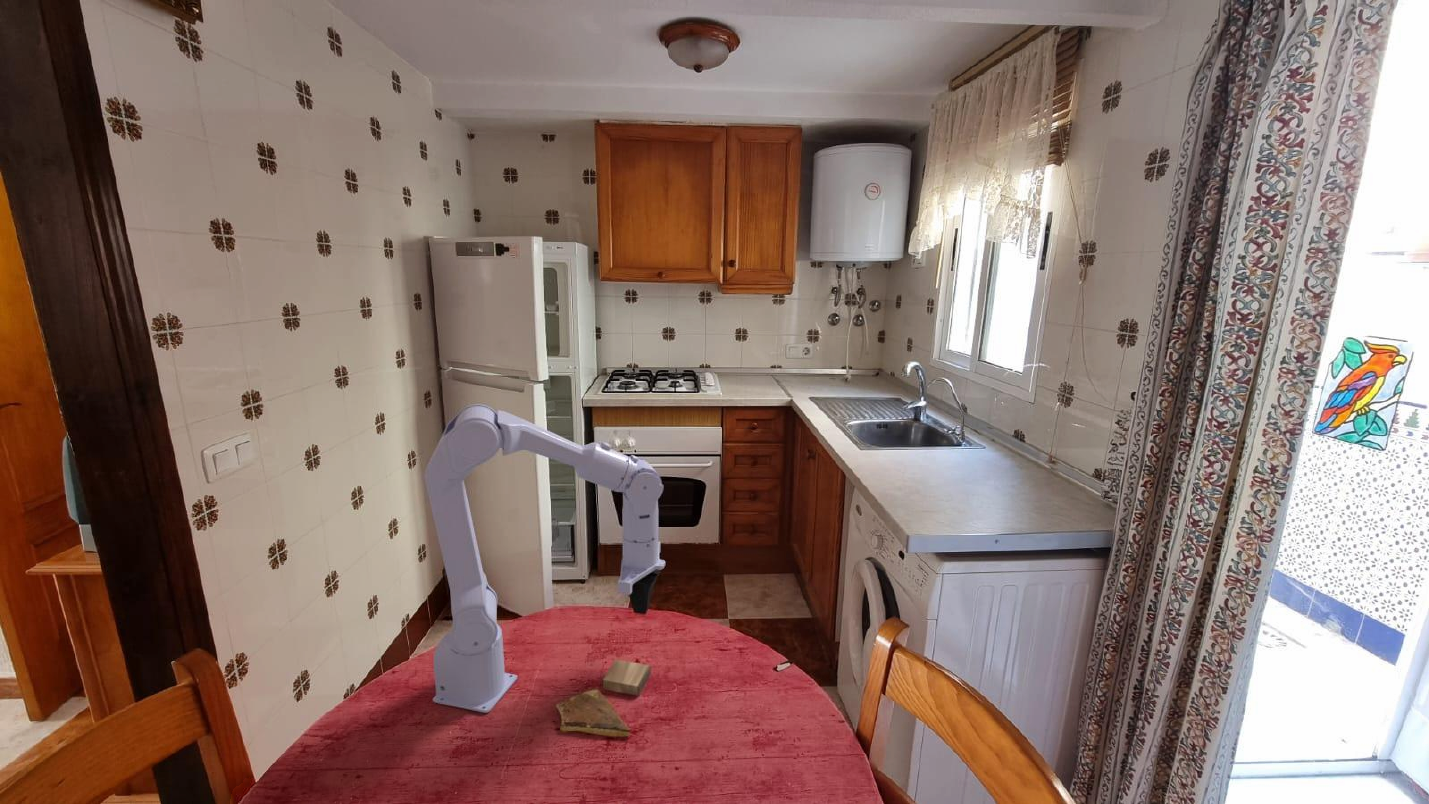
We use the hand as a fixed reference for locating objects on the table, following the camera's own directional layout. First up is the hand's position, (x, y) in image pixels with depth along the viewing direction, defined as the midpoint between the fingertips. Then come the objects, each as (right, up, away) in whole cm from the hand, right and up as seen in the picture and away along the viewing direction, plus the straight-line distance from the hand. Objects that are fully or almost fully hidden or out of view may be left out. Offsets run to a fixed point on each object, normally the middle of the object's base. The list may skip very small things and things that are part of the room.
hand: (640, 611), depth 94 cm
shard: (-5, -12, -11) cm, 17 cm away
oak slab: (-5, -9, -4) cm, 10 cm away
